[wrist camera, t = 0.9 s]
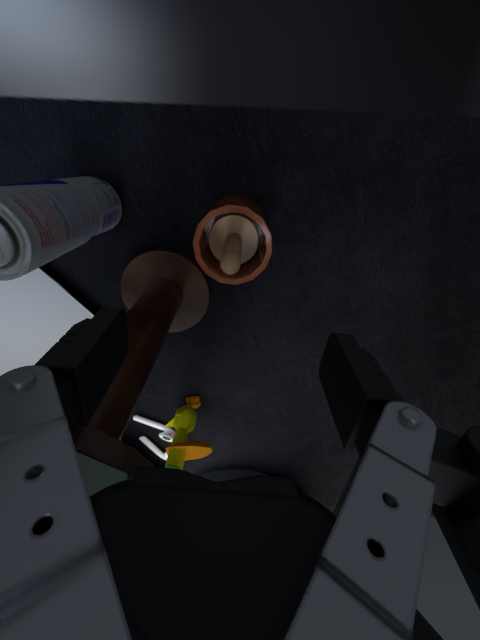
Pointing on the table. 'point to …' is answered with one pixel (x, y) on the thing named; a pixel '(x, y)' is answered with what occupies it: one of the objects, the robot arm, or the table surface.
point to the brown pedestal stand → (143, 346)
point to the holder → (213, 264)
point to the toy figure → (185, 436)
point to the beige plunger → (233, 240)
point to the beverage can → (52, 220)
